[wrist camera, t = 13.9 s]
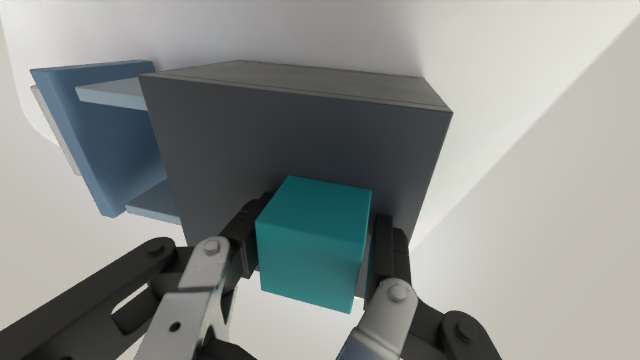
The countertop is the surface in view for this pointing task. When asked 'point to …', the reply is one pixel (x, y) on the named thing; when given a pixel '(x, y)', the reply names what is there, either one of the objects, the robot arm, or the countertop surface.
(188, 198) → the dark grey drawer cabinet
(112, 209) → the blue drawer
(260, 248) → the teal cube
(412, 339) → the robot arm
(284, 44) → the countertop surface
